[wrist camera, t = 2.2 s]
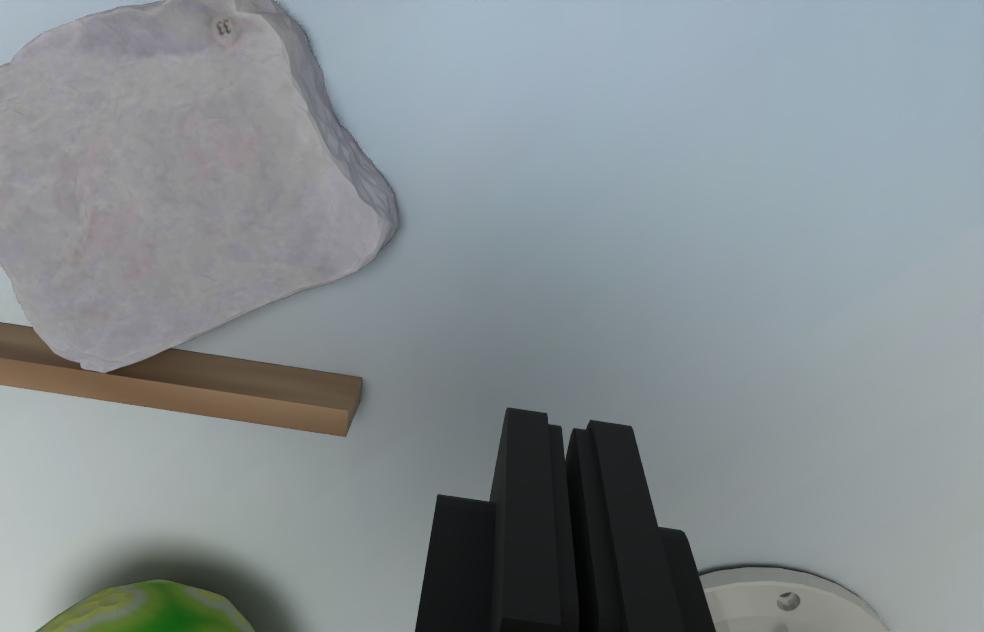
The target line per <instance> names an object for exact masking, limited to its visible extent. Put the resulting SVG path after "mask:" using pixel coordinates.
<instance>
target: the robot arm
mask: <svg viewBox="0 0 984 632" xmlns="http://www.w3.org/2000/svg"><path fill="white" fill-rule="evenodd" d="M415 632H889V630H888V629H887V627H886V625H885V624H884V622H883V621H882V619H881V618H880V616H879V615H878V614H877V613H876V612H874V611H873V610H872V609H871V608H870V607H869V606H868V605H867V604H866V603H865V602H864V601H863V600H862V599H861V598H859V597H858V596H856V595H854V594H853V593H851V592H849V591H848V590H846V589H844V588H843V587H841V586H839V585H838V584H836V583H833V582H830V581H828V580H825V579H822V578H820V577H817V576H814V575H812V574H808V573H803V572H798V571H792V570H787V569H782V568H759V567H746V568H738V569H730V570H721V571H715V572H712V573H708V574H705V575H701V576H699V574H698V571H697V568H696V564H695V561H694V558H693V555H692V551H691V548H690V545H689V542H688V539H687V537H686V535H685V533H684V532H683V531H681V530H676V529H669V528H663V527H658V524H657V520H656V517H655V513H654V509H653V505H652V501H651V497H650V494H649V490H648V486H647V482H646V478H645V474H644V470H643V467H642V463H641V459H640V455H639V451H638V447H637V444H636V440H635V436H634V432H633V429H632V427H631V426H627V425H621V424H614V423H607V422H601V421H594V420H590V422H589V423H588V426H587V429H586V430H583V429H577V428H574V429H573V431H572V433H571V437H570V441H569V446H568V451H567V455H566V460H565V457H564V447H563V436H562V428H561V426H557V425H550V424H548V416H547V413H541V412H535V411H528V410H522V409H515V408H508V407H507V409H506V413H505V417H504V423H503V428H502V434H501V439H500V445H499V450H498V456H497V461H496V467H495V473H494V478H493V484H492V489H491V495H490V500H489V502H487V501H481V500H474V499H467V498H460V497H454V496H447V495H440V494H438V495H437V501H436V507H435V513H434V519H433V525H432V531H431V537H430V543H429V549H428V555H427V562H426V568H425V574H424V580H423V586H422V592H421V598H420V604H419V610H418V616H417V622H416V628H415Z"/></svg>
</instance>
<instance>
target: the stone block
mask: <svg viewBox="0 0 984 632" xmlns="http://www.w3.org/2000/svg"><path fill="white" fill-rule="evenodd" d="M397 228H398V216H397V209H396V203H395V196H394V192H393V191H392V189H391V188H390V186H389V185H388V183H387V181H386V180H385V179H384V177H383V176H382V174H381V173H380V172H379V171H378V170H377V169H376V168H375V167H374V165H373V163H372V161H371V160H370V159H369V158H368V157H367V156H366V155H365V154H364V153H363V151H362V150H361V149H360V147H359V145H358V143H357V142H356V141H355V139H354V138H353V137H352V135H351V134H350V133H349V131H348V130H347V129H346V128H344V127H343V126H341V125H340V123H339V121H338V119H337V117H336V116H335V114H334V112H333V110H332V108H331V104H330V101H329V98H328V95H327V92H326V88H325V82H324V78H323V73H322V70H321V68H320V66H319V64H318V62H317V60H316V58H315V56H314V54H313V52H312V50H311V48H310V45H309V41H308V37H307V36H306V34H305V32H304V30H303V29H302V28H301V26H300V25H299V24H298V23H297V22H296V21H295V20H293V19H292V18H290V17H289V16H288V15H287V14H286V13H285V12H284V11H283V10H282V9H281V7H280V6H279V5H278V4H277V3H275V2H274V1H272V0H163V1H158V2H154V3H149V4H145V5H132V6H121V7H117V8H114V9H112V10H108V11H104V12H100V13H96V14H91V15H88V16H85V17H83V18H80V19H76V20H75V22H72V23H68V24H64V25H61V26H59V27H56V28H54V29H51V30H48V31H46V32H44V33H42V34H40V35H39V36H37V37H36V38H34V39H33V40H32V41H30V42H29V43H28V44H26V45H25V46H24V47H23V48H22V49H21V50H20V51H19V52H18V53H17V54H16V55H15V56H14V57H13V59H12V61H11V62H10V63H7V64H4V65H2V66H0V265H1V266H2V268H3V269H4V271H5V272H6V274H7V275H8V276H9V278H10V279H11V283H12V286H13V289H14V292H15V295H16V298H17V300H18V303H19V304H20V305H21V307H22V309H23V311H24V313H25V315H26V317H27V319H28V320H29V321H30V323H31V325H32V327H33V329H34V331H35V332H36V333H37V334H38V336H39V337H40V338H41V339H42V340H43V341H44V342H45V343H46V344H47V345H48V346H49V347H50V349H51V350H52V351H53V352H54V353H55V354H57V355H59V356H61V357H63V358H65V359H67V360H70V361H74V362H78V363H80V365H81V368H82V369H85V370H92V371H97V372H101V373H104V374H105V373H107V372H109V371H112V370H115V369H117V368H120V367H124V366H127V365H130V364H133V363H136V362H139V361H142V360H144V359H147V358H149V357H151V356H153V355H156V354H158V353H160V352H162V351H164V350H167V349H169V348H171V347H174V346H176V345H179V344H181V343H184V342H186V341H189V340H191V339H193V338H196V337H198V336H200V335H202V334H204V333H206V332H209V331H211V330H213V329H215V328H217V327H219V326H221V325H223V324H225V323H227V322H229V321H231V320H233V319H235V318H237V317H239V316H241V315H243V314H245V313H247V312H250V311H252V310H254V309H257V308H259V307H261V306H264V305H266V304H269V303H271V302H273V301H276V300H279V299H282V298H285V297H288V296H290V295H293V294H295V293H297V292H299V291H301V290H305V289H309V288H313V287H318V286H322V285H326V284H330V283H332V282H334V281H336V280H338V279H340V278H343V277H346V276H348V275H350V274H352V273H354V272H356V271H358V270H359V269H361V268H362V267H364V266H365V265H367V264H368V263H370V262H371V261H372V260H374V258H375V256H376V254H377V252H378V251H379V250H381V249H382V248H383V247H384V246H385V245H386V244H387V243H388V242H389V241H390V240H391V238H392V236H393V235H394V233H395V231H396V229H397Z"/></svg>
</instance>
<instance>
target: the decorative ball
mask: <svg viewBox="0 0 984 632" xmlns="http://www.w3.org/2000/svg"><path fill="white" fill-rule="evenodd" d="M36 632H256V631H255V630H254V629H253V627H252V626H251V625H250V623H249V622H248V621H247V620H246V618H245V617H244V616H243V615H242V614H241V613H240V612H239V611H238V610H237V609H236V608H235V606H234V605H233V604H232V603H231V602H230V601H229V600H228V599H227V598H225V597H223V596H222V595H219V594H216V593H212V592H210V591H207V590H203V589H199V588H195V587H191V586H187V585H184V584H180V583H176V582H172V581H168V580H158V579H157V580H149V581H144V582H138V583H133V584H128V585H123V586H117V587H111V588H107V589H104V590H101V591H99V592H96V593H95V594H93V595H91V596H89V597H87V598H85V599H83V600H82V601H80V602H78V603H76V604H74V605H73V606H71V607H70V608H68V609H67V610H65V611H64V612H62V613H61V614H59V615H58V616H56V617H55V618H53V619H52V620H51V621H49V622H48V623H46V624H45V625H44V626H42V627H41V628H40V629H38V630H37V631H36Z"/></svg>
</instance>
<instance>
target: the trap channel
mask: <svg viewBox="0 0 984 632" xmlns="http://www.w3.org/2000/svg"><path fill="white" fill-rule="evenodd" d="M361 384H362V378H360V377H353V376H347V375H340V374H334V373H327V372H320V371H314V370H307V369H301V368H294V367H288V366H281V365H275V364H268V363H261V362H255V361H248V360H242V359H235V358H229V357H222V356H216V355H209V354H203V353H196V352H189V351H183V350H176V349H170V348H169V349H167V350H164V351H162V352H160V353H158V354H156V355H153V356H151V357H149V358H147V359H144V360H142V361H139V362H136V363H133V364H130V365H127V366H124V367H120V368H117V369H115V370H112V371H109V372H107V373H105V374H104V373H101V372H97V371H92V370H85V369H82V368H81V365H80V363H78V362H74V361H70V360H67V359H65V358H63V357H61V356H59V355H57V354H55V353H54V352H53V351H52V350H51V349H50V347H49V346H48V345H47V344H46V343H45V342H44V341H43V340H42V339H41V338H40V337H39V336H38V334H37V333H36V332H35V331H34V329H33V328H32V327H26V326H19V325H13V324H6V323H0V385H5V386H11V387H18V388H25V389H31V390H38V391H44V392H51V393H58V394H64V395H71V396H78V397H84V398H91V399H98V400H104V401H111V402H117V403H124V404H131V405H137V406H144V407H151V408H157V409H164V410H170V411H177V412H184V413H190V414H197V415H204V416H210V417H217V418H224V419H230V420H237V421H243V422H250V423H257V424H263V425H270V426H277V427H283V428H290V429H296V430H303V431H310V432H316V433H323V434H330V435H336V436H343V437H346V435H347V433H348V430H349V428H350V425H351V423H352V420H353V418H354V415H355V413H356V410H357V408H358V405H359V403H360V394H361Z"/></svg>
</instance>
